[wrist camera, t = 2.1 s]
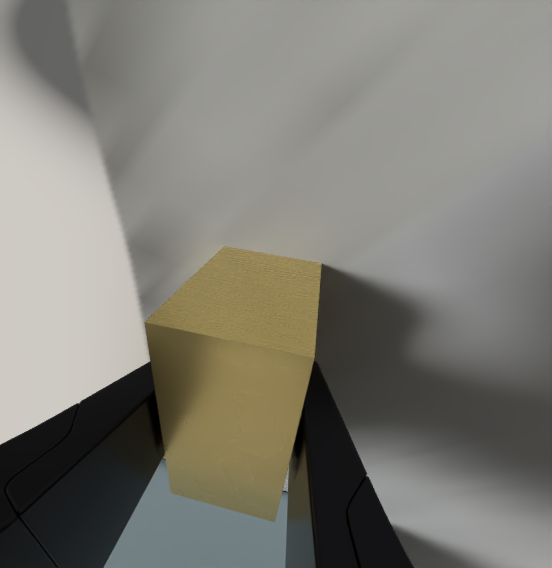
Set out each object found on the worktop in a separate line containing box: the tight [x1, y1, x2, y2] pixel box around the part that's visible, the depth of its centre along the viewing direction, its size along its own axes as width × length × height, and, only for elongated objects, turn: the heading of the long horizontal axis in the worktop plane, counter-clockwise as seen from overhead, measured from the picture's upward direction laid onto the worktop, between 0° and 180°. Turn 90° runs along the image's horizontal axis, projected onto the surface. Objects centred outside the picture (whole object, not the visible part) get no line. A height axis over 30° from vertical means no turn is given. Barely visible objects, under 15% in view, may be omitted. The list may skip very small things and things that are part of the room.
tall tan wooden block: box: [145, 247, 322, 522], centre depth 8 cm, size 3×6×4 cm, turn 173°
